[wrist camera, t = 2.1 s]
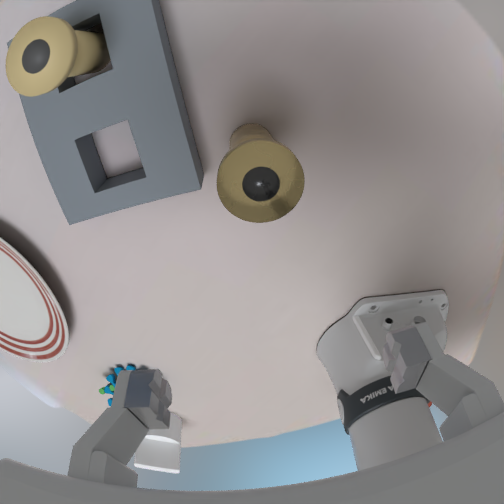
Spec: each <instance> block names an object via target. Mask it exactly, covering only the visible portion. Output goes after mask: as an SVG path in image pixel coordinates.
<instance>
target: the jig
mask: <svg viewBox="0 0 504 504" xmlns="http://www.w3.org/2000/svg"><path fill="white" fill-rule="evenodd" d="M100 23H102V26H103V31H104V34H102V33H96V32H88V31H84V30H87V29H89V28H91V27H93V26H95V25H97V24H100ZM7 45H8V53H7V57H6V73H7V77H8V80H9V82H10V84H11V86H12V87H13V88H14V90H15V91H17V92H18V93H19V95H20V99H21V102H22V105H23V109H24V112H25V115H26V118H27V121H28V125H29V128H30V131H31V133H32V136H33V139H34V142H35V145H36V148H37V150H38V153H39V156H40V158H41V161H42V163H43V166H44V169H45V171H46V174H47V176H48V178H49V181H50V183H51V186H52V188H53V190H54V193H55V195H56V197H57V199H58V202H59V204H60V206H61V208H62V210H63V213H64V215H65V217H66V219H67V221H68V223H69V225H71V224H75V223H78V222H81V221H84V220H88V219H91V218H94V217H98V216H101V215H104V214H108V213H111V212H115V211H118V210H122V209H126V208H129V207H133V206H136V205H140V204H144V203H148V202H151V201H155V200H159V199H163V198H167V197H171V196H175V195H179V194H183V193H187V192H192V191H196V190H200V189H201V187H202V182H203V178H204V173H203V170H202V166H201V162H200V159H199V155H198V151H197V148H196V144H195V140H194V137H193V133H192V129H191V126H190V122H189V118H188V114H187V111H186V107H185V103H184V99H183V95H182V91H181V88H180V84H179V80H178V76H177V72H176V68H175V64H174V60H173V56H172V52H171V48H170V44H169V40H168V36H167V32H166V28H165V24H164V19H163V15H162V11H161V7H160V2H159V0H76V1H74V2H72V3H70V4H68V5H66V6H65V7H63V8H61V9H59V10H57V11H56V12H54V13H52V14H50V15H49V16H47V17H39V18H36V19H34V20H32V21H30V22H28V23H27V24H26V25H24V26H23V27H22V28H21V29H20V30H19V31H18V33H17V34H16V35H15V37H14V38H13V39H12V40H10V41H9V42H8V43H7ZM110 60H111V63H112V66H113V69H112V70H109V71H107V72H105V73H102V74H100V75H98V76H95V77H93V78H91V79H88V80H86V81H84V82H82V83H80V84H78V85H76V84H75V81H74V77H73V76H78V75H83V74H89V73H95V72H98V71H100V70H102V69H103V68H105V67H106V66H107V65H108V63H109V62H110ZM125 120H128V122H129V125H130V129H131V132H132V135H133V138H134V141H135V144H136V147H137V150H138V153H139V156H140V159H141V162H142V165H143V168H141V169H138V170H134V171H131V172H128V173H125V174H121V175H118V176H115V177H112V178H109V179H107V177H106V175H105V172H104V169H103V167H102V164H101V161H100V158H99V156H98V153H97V150H96V147H95V144H94V142H93V139H92V136H91V133H93V132H95V131H98V130H100V129H103V128H106V127H108V126H111V125H114V124H116V123H119V122H122V121H125Z"/></svg>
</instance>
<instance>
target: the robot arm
mask: <svg viewBox="0 0 504 504" xmlns="http://www.w3.org/2000/svg"><path fill="white" fill-rule="evenodd" d="M448 308H449V302H448V298H447V295H446V294H445V292H444V290H436V291H428V292H419V293H410V294H401V295H391V296H381V297H370V298H364V299H362V300H360V301H359V302H358V303H357V304H356V305H355V306H354V307H353V308H352V310H351V311H350V312H349V314H348V315H346V316H345V317H344V318H342V319H341V320H340V321H338V322H337V323H335V324H334V325H333V326H332V327H330V328H329V329H328V330H327V331H326V332H325V334H324V335H323V336H322V338H321V339H320V341H319V343H318V346H317V356H318V358H319V360H320V361H321V362H322V364H323V365H324V367H325V368H326V370H327V372H328V374H329V376H330V378H331V380H332V382H333V385H334V387H335V389H336V392H337V395H338V396H337V404H338V408H339V413H340V417H341V420H342V424H343V425H344V428H345V431H346V433H347V434H348V435H350V439H351V443H352V447H353V452H354V456H355V460H356V465H357V468H358V471H356V472H352V473H348V474H344V475H340V476H335V477H330V478H326V479H321V480H316V481H310V482H304V483H298V484H291V485H284V486H277V487H268V488H259V489H245V490H228V491H174V490H173V491H172V490H157V489H145V488H137V476H138V474H137V473H136V472H135V471H134V470H132V469H130V468H128V467H127V466H126V465H127V463H128V462H129V460H130V459H131V457H132V456H133V454H134V453H135V451H136V450H137V448H138V447H139V445H140V444H141V442H142V441H143V439H144V438H145V436H146V435H147V433H148V432H149V430H148V429H169V426H170V415H171V414H170V412H169V411H168V409H167V408H168V407H169V406H170V405H171V403H172V393H171V388H170V385H169V383H168V382H167V380H165V379H163V378H162V373H161V371H160V370H159V369H150V370H122V371H120V372H119V374H118V377H117V381H116V386H115V390H114V395H113V399H112V404H111V408H107V409H106V410H105V411H104V412H103V413H102V415H101V416H100V417H99V418H98V419H97V420H96V421H95V422H94V424H93V425H92V426H91V427H90V428H89V429H88V430H87V432H86V433H85V434H84V435H83V436H82V437H81V438H80V439H79V441H78V442H77V443H76V444H75V445H74V446H73V450H72V456H71V460H70V466H69V471H68V476H66V475H61V474H57V473H54V472H50V471H46V470H42V469H39V468H36V467H32V466H29V465H26V464H23V463H20V462H17V461H14V460H11V459H7V458H5V459H2V460H0V504H504V403H503V401H502V399H501V397H500V395H499V393H498V390H497V389H496V387H495V385H494V383H493V382H492V381H490V380H489V379H487V378H486V377H484V376H483V375H480V374H479V373H478V372H476V371H474V370H473V369H471V368H470V367H468V366H466V365H465V364H463V363H462V362H460V361H458V360H457V359H455V358H453V357H452V356H450V355H449V354H447V355H445V354H444V353H443V351H444V349H445V346H446V342H447V328H446V324H445V321H446V318H447V314H448ZM432 403H433V404H434V405H436V406H437V407H438V408H439V409H440V410H441V411H443V412H444V413H445V414H446V415H447V416H448V418H447V419H446V420H445V421H444V422H443V424H442V425H441V427H440V432H441V434H442V437H443V440H444V442H443V441H442V439H441V436H440V434H439V431H438V429H437V426H436V424H435V421H434V419H433V416H432V414H431V411H430V409H429V407H430V406H431V405H432Z"/></svg>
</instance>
